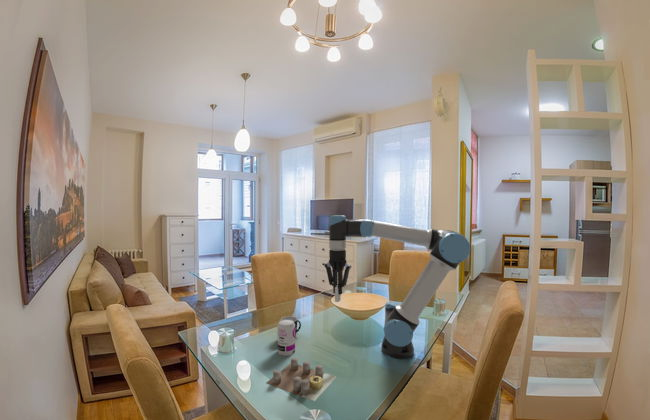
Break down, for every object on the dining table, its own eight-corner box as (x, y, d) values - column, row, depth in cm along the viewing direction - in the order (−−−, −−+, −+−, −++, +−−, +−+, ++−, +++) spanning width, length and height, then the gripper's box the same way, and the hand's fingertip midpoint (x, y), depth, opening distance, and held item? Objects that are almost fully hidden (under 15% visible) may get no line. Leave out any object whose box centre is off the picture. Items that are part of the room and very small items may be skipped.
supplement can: (295, 349, 142) (295, 318, 142) (294, 358, 134) (294, 325, 133) (278, 349, 141) (278, 318, 141) (276, 358, 133) (276, 325, 133)
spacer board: (336, 379, 117) (336, 366, 117) (314, 404, 102) (314, 390, 102) (291, 365, 127) (291, 353, 127) (265, 386, 113) (265, 372, 113)
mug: (285, 344, 147) (285, 324, 147) (277, 337, 154) (277, 318, 154) (305, 337, 155) (305, 318, 155) (296, 331, 162) (296, 313, 162)
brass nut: (324, 384, 112) (324, 377, 112) (317, 391, 108) (317, 384, 107) (314, 380, 114) (314, 374, 114) (307, 387, 110) (307, 381, 110)
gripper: (354, 249, 133) (354, 300, 133) (328, 247, 139) (329, 296, 139) (347, 251, 126) (347, 305, 126) (321, 249, 133) (321, 301, 133)
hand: (337, 301), depth 133 cm, fingers closed
